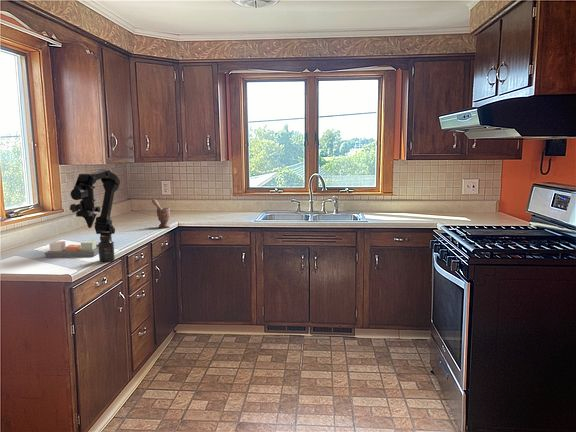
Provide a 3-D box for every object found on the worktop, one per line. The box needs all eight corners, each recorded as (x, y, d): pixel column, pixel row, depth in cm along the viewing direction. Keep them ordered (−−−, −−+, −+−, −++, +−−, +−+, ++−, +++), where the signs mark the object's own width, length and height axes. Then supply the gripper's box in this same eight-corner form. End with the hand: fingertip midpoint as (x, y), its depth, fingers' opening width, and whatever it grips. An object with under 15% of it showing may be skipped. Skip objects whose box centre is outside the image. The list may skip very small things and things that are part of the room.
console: (54, 252, 226) (53, 248, 226) (100, 251, 228) (100, 247, 228) (45, 257, 217) (45, 252, 216) (94, 256, 219) (93, 251, 218)
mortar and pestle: (161, 229, 292) (160, 199, 289) (151, 228, 296) (150, 198, 293) (173, 227, 302) (172, 197, 299) (163, 226, 306) (162, 197, 303)
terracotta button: (70, 252, 225) (69, 244, 224) (81, 252, 225) (80, 244, 225) (66, 255, 220) (65, 247, 219) (77, 254, 220) (76, 246, 219)
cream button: (54, 249, 224) (54, 241, 223) (65, 248, 224) (65, 241, 224) (49, 251, 219) (49, 243, 218) (61, 251, 219) (60, 243, 218)
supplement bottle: (116, 258, 214) (115, 234, 212) (111, 262, 207) (110, 237, 205) (102, 259, 214) (100, 234, 212) (96, 262, 207) (95, 237, 205)
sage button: (85, 248, 225) (84, 240, 225) (96, 248, 226) (95, 240, 225) (81, 250, 220) (80, 242, 219) (92, 250, 220) (92, 242, 220)
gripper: (78, 196, 236) (80, 225, 239) (64, 200, 218) (66, 231, 220) (100, 196, 237) (101, 224, 240) (87, 200, 219) (89, 231, 221)
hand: (89, 227), depth 230 cm, fingers closed
